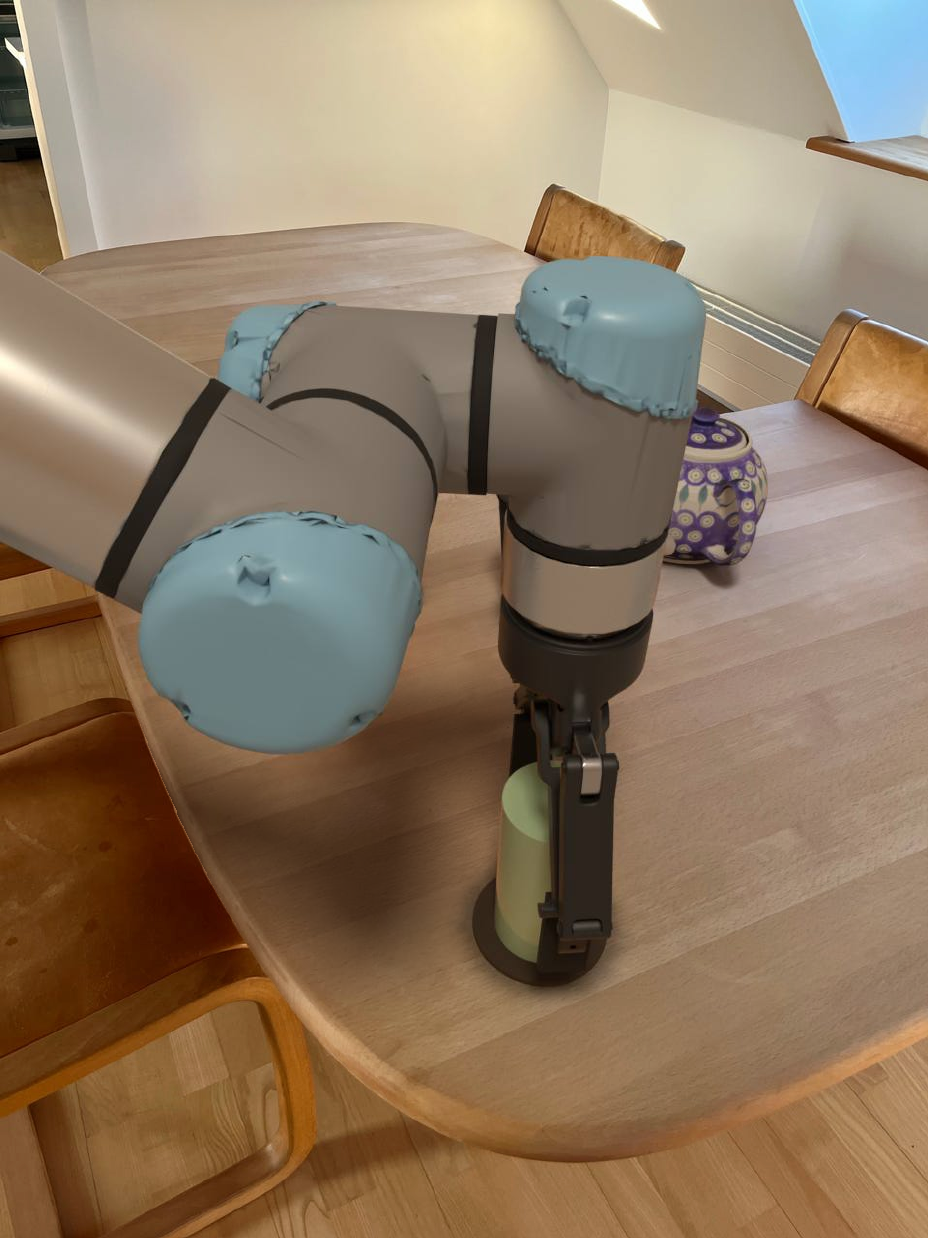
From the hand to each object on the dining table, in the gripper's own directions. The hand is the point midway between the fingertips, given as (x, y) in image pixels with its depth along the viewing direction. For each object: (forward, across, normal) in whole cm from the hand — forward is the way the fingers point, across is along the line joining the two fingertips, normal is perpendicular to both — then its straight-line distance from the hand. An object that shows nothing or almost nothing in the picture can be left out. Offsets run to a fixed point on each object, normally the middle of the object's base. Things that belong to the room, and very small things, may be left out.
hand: (543, 868), depth 59 cm
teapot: (+6, +46, -22) cm, 51 cm away
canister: (+6, 0, 0) cm, 6 cm away
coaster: (+6, 0, 0) cm, 6 cm away
